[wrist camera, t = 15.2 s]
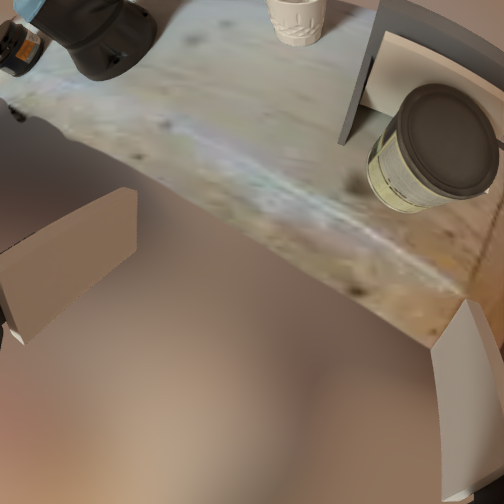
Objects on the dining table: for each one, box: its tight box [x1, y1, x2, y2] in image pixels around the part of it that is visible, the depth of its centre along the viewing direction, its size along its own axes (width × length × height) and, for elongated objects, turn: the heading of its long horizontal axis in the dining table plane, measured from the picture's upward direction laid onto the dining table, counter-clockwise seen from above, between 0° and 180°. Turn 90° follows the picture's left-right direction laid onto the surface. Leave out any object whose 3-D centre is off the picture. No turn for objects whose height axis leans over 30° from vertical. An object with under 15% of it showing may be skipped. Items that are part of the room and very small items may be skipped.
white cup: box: [265, 0, 327, 46], centre depth 30 cm, size 8×8×10 cm
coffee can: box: [366, 84, 499, 213], centre depth 27 cm, size 10×10×14 cm
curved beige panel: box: [359, 31, 504, 150], centre depth 25 cm, size 1×18×14 cm, turn 70°
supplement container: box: [0, 20, 43, 77], centre depth 37 cm, size 10×10×12 cm
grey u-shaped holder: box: [338, 0, 504, 195], centre depth 26 cm, size 13×18×15 cm
